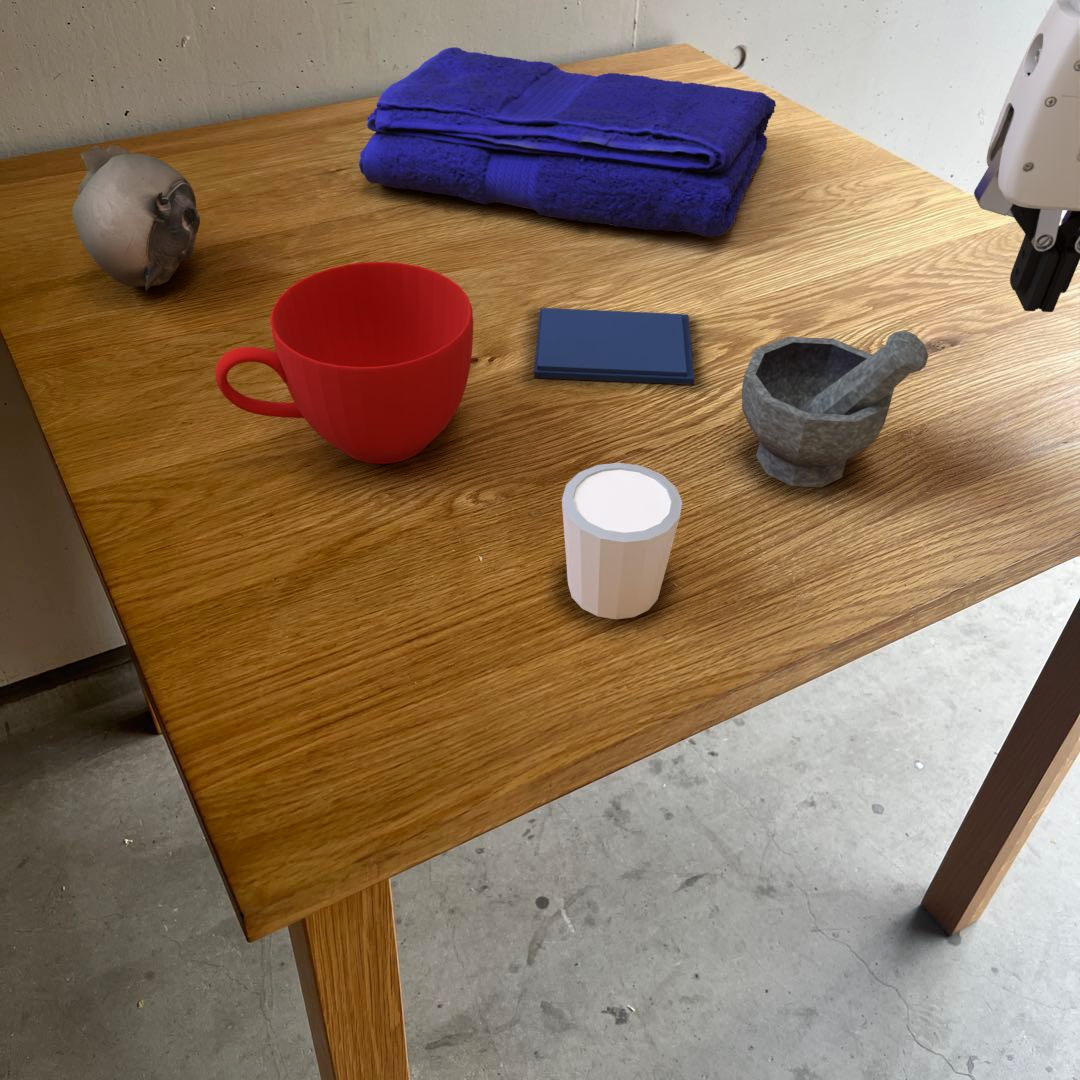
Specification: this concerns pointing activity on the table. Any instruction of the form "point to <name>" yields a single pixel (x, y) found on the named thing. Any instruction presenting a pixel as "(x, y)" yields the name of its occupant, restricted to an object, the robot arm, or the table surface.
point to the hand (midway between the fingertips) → (1031, 299)
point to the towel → (570, 142)
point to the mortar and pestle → (822, 402)
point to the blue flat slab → (614, 346)
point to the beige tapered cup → (618, 537)
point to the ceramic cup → (367, 357)
